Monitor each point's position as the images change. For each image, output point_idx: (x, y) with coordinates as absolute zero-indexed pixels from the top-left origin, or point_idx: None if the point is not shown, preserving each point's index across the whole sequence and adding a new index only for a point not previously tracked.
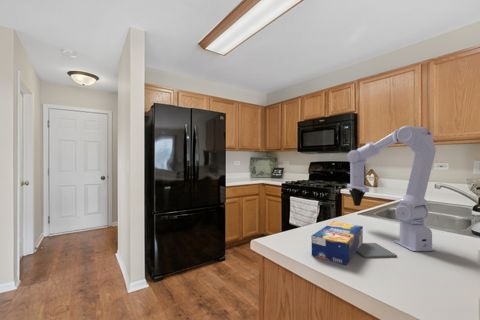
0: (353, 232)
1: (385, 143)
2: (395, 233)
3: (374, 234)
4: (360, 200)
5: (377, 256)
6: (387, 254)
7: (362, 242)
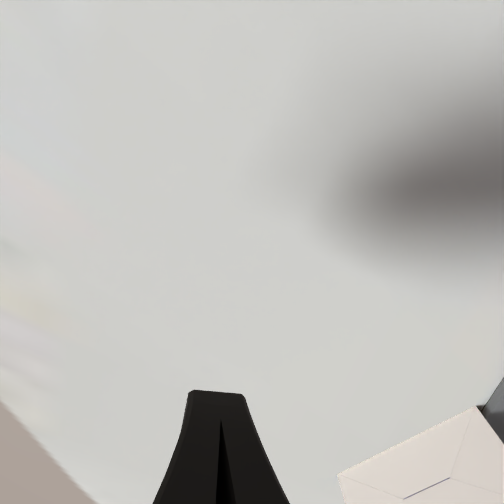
0: None
1: None
2: (479, 5)
3: (401, 230)
4: (268, 494)
5: None
6: None
7: (484, 418)
